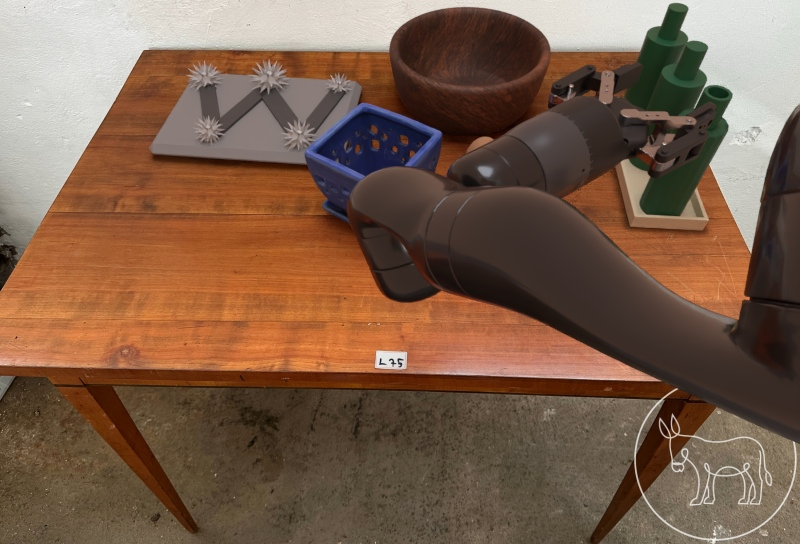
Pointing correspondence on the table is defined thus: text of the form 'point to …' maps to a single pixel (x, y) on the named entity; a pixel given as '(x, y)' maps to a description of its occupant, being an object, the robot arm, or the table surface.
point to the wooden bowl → (468, 68)
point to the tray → (632, 191)
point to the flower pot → (367, 152)
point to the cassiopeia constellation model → (253, 115)
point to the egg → (479, 143)
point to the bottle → (681, 183)
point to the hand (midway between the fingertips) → (672, 90)
